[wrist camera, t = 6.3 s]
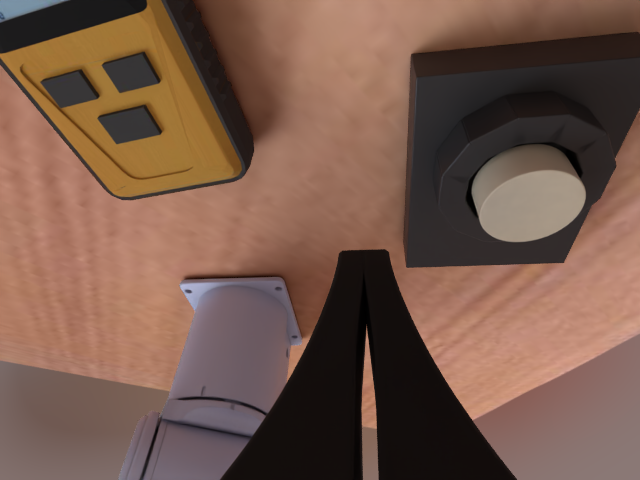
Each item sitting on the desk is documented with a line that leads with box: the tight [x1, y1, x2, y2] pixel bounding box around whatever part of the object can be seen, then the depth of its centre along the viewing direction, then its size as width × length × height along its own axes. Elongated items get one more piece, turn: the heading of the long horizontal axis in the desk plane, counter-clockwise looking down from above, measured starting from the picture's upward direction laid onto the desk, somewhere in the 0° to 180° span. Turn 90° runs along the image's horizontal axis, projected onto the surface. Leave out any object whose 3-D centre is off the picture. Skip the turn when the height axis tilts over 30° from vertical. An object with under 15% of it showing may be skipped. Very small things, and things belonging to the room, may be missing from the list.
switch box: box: [403, 32, 640, 268], centre depth 20 cm, size 12×9×4 cm
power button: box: [472, 144, 586, 242], centre depth 17 cm, size 4×4×2 cm
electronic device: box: [0, 0, 254, 200], centre depth 16 cm, size 8×16×3 cm, turn 15°
